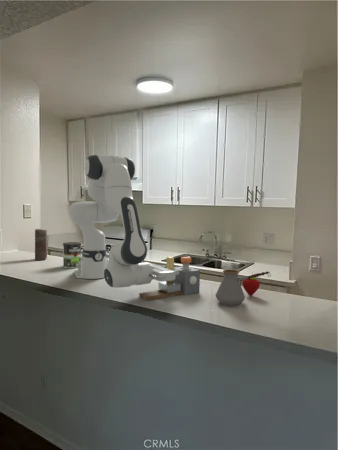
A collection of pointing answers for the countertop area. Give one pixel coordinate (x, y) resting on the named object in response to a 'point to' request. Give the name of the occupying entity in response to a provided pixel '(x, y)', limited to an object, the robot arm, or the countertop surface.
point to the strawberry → (251, 285)
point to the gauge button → (185, 262)
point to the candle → (40, 244)
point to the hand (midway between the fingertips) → (171, 269)
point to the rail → (157, 294)
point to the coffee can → (71, 254)
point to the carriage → (170, 285)
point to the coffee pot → (232, 288)
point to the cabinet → (188, 280)
